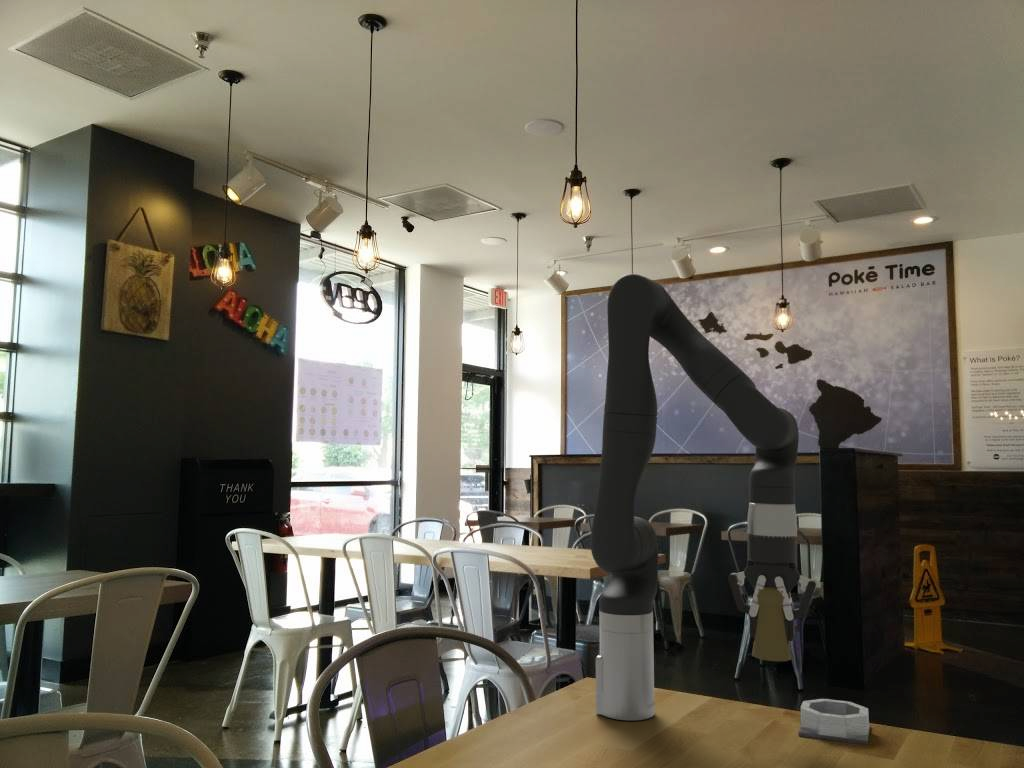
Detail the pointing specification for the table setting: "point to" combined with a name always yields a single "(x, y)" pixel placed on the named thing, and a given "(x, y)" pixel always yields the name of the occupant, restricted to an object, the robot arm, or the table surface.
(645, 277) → the robot arm
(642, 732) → the table surface
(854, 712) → the duct collar
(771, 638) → the cork
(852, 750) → the table surface
